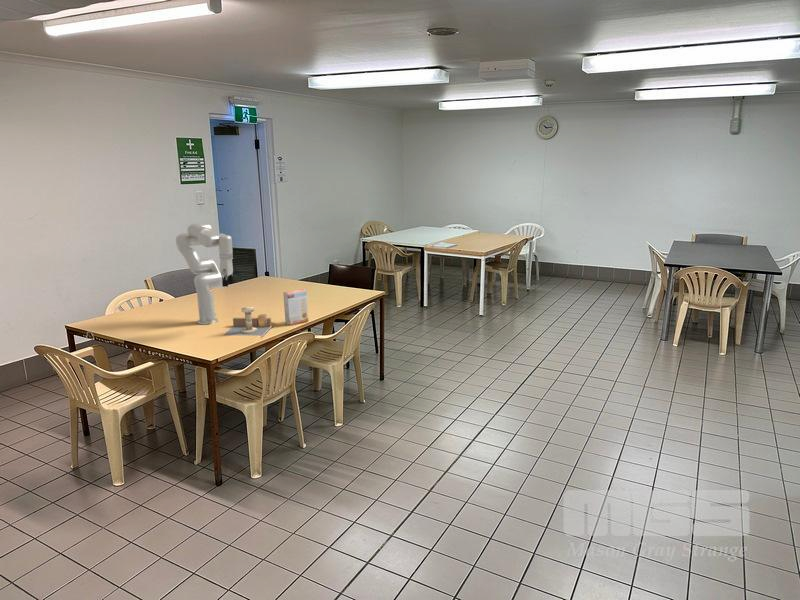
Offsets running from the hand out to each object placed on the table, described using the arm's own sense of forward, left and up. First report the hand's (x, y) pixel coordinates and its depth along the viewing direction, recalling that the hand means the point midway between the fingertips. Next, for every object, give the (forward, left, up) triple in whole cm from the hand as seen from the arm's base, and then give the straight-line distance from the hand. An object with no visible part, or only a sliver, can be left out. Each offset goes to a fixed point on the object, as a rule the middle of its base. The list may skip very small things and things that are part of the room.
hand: (227, 284), depth 323 cm
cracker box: (-17, +36, -29) cm, 49 cm away
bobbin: (+7, +13, -27) cm, 31 cm away
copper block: (-4, +18, -27) cm, 33 cm away
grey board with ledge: (+5, +12, -28) cm, 31 cm away
